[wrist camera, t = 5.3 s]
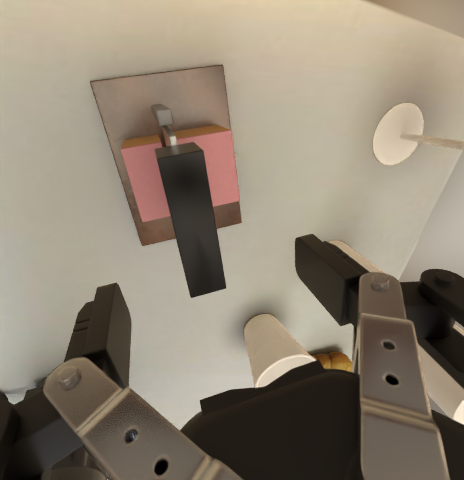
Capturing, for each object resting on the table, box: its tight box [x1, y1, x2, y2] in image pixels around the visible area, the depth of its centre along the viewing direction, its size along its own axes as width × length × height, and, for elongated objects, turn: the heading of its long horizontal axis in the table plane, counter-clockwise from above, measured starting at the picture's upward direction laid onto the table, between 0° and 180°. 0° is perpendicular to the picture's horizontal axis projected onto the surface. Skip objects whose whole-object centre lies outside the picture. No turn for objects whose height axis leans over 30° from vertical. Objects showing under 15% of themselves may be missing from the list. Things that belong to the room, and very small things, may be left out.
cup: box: [244, 314, 316, 388], centre depth 45 cm, size 10×10×11 cm
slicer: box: [90, 65, 241, 246], centre depth 28 cm, size 13×18×13 cm
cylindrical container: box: [328, 240, 464, 425], centre depth 36 cm, size 7×7×25 cm
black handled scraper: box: [155, 125, 226, 298], centre depth 21 cm, size 2×10×11 cm, turn 7°
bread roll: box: [312, 352, 352, 372], centre depth 55 cm, size 13×10×8 cm
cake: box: [121, 124, 240, 222], centre depth 30 cm, size 10×7×6 cm
